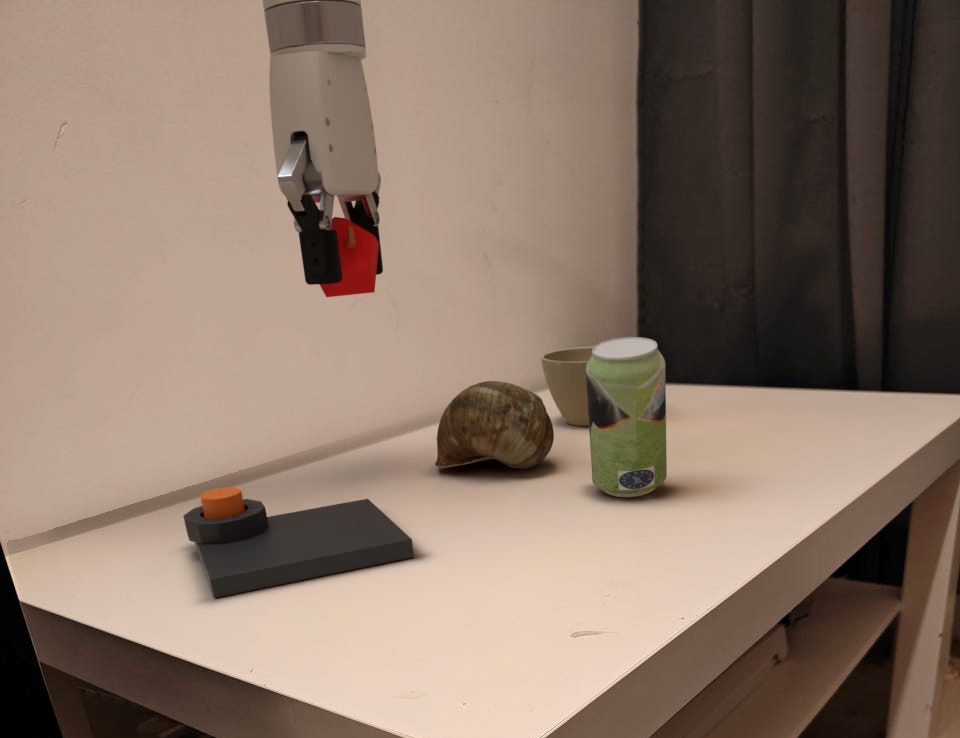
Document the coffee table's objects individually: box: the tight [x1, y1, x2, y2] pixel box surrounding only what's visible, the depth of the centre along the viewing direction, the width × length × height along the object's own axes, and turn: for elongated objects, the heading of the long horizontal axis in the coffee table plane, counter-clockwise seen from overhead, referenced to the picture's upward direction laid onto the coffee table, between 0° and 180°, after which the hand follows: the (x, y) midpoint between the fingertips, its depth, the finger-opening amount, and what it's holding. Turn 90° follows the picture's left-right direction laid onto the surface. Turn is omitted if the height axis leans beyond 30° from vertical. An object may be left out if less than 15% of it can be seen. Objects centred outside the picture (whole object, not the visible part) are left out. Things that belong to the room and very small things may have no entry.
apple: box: [318, 216, 379, 298], centre depth 80 cm, size 7×7×8 cm
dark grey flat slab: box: [183, 498, 415, 599], centre depth 69 cm, size 14×13×3 cm
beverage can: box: [586, 336, 668, 498], centre depth 74 cm, size 6×7×12 cm
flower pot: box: [540, 346, 594, 427], centre depth 100 cm, size 10×10×7 cm
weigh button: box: [199, 486, 245, 519], centre depth 70 cm, size 3×3×2 cm
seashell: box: [434, 380, 555, 470], centre depth 85 cm, size 11×9×8 cm
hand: (346, 277), depth 81 cm, fingers closed on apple, 7 cm apart
